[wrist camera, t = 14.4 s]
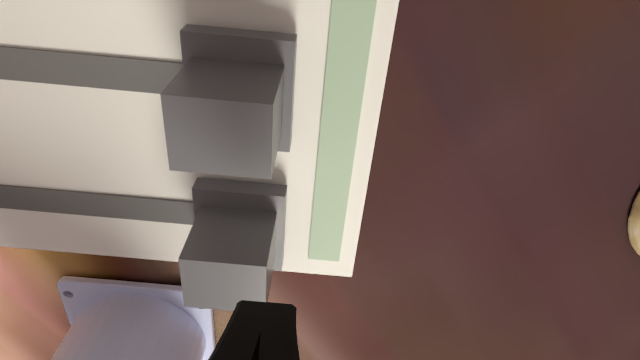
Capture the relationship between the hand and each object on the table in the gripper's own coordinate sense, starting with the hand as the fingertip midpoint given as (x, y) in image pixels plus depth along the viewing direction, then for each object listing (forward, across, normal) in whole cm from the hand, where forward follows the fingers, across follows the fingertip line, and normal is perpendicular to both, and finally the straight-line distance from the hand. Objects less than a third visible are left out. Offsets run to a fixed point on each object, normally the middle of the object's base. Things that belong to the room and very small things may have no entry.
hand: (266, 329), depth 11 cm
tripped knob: (+8, +2, -3) cm, 8 cm away
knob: (+8, +2, +3) cm, 9 cm away
